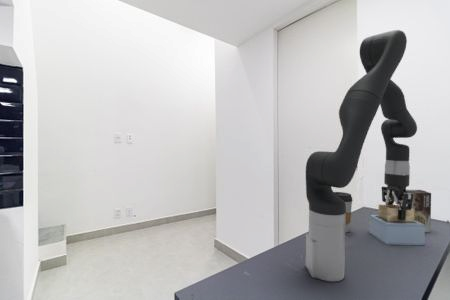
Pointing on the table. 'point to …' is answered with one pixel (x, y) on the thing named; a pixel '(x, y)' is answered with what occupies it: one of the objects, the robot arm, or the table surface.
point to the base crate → (397, 232)
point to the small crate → (394, 214)
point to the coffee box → (421, 207)
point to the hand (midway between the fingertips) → (395, 217)
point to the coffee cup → (348, 201)
